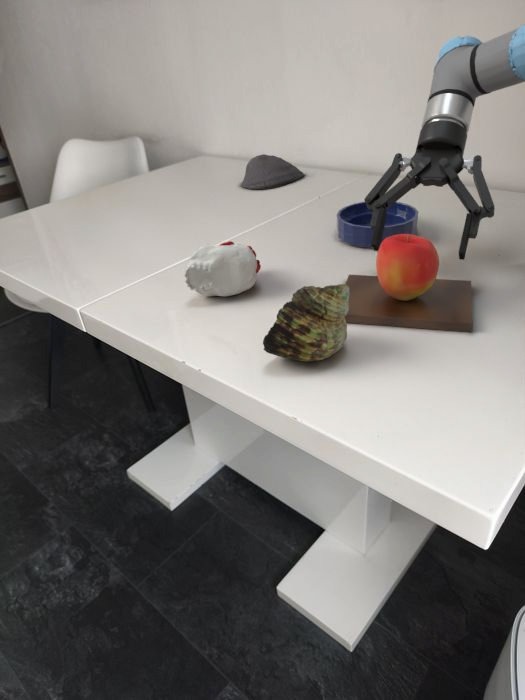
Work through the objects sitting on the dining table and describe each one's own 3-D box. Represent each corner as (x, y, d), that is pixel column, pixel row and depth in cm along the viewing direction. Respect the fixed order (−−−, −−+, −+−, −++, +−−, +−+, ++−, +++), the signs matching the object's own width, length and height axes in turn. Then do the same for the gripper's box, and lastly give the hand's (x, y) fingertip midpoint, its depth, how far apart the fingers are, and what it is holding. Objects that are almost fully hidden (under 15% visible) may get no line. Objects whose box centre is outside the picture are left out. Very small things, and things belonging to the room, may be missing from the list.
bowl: (419, 221, 116) (420, 201, 114) (414, 251, 103) (415, 228, 101) (344, 220, 121) (344, 200, 118) (330, 248, 108) (330, 226, 106)
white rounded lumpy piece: (184, 303, 92) (220, 276, 104) (246, 308, 88) (275, 279, 101) (178, 251, 88) (216, 229, 100) (242, 255, 84) (273, 231, 97)
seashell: (274, 332, 82) (269, 272, 77) (350, 333, 80) (350, 271, 75) (263, 372, 74) (256, 307, 68) (347, 374, 71) (347, 308, 66)
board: (469, 288, 89) (471, 280, 88) (471, 332, 78) (472, 323, 77) (348, 282, 94) (348, 274, 94) (334, 321, 83) (333, 313, 83)
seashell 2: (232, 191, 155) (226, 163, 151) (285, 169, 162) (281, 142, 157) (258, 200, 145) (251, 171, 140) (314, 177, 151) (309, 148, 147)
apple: (423, 315, 80) (428, 252, 74) (363, 303, 84) (364, 243, 79) (443, 289, 86) (449, 229, 81) (386, 278, 91) (389, 221, 86)
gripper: (525, 146, 87) (500, 269, 84) (374, 143, 97) (347, 253, 94) (528, 117, 80) (501, 250, 77) (365, 117, 90) (336, 235, 87)
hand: (416, 252), depth 86 cm, fingers open, 13 cm apart
